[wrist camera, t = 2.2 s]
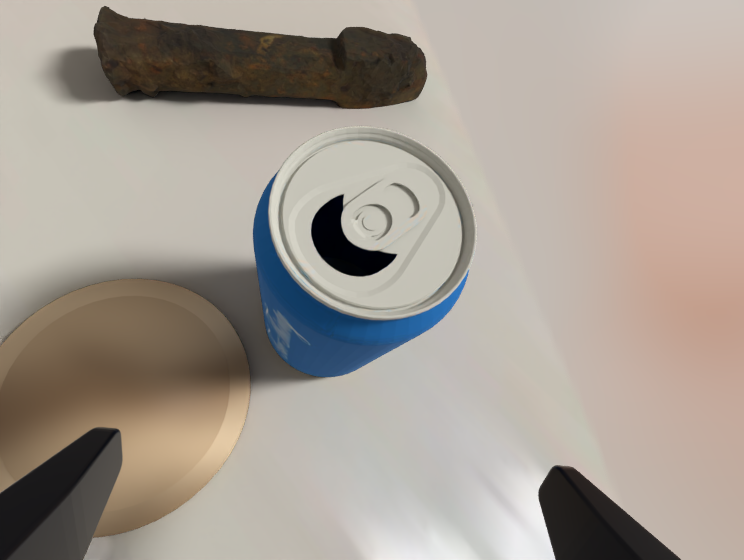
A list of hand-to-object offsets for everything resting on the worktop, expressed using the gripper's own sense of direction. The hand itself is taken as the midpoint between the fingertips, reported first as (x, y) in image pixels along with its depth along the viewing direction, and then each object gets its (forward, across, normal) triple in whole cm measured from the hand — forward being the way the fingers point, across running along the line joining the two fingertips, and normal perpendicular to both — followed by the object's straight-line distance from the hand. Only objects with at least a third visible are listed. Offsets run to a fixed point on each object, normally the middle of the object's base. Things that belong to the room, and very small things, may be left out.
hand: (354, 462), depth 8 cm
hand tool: (+24, +5, -6) cm, 25 cm away
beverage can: (+13, 0, +5) cm, 14 cm away
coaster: (+9, +9, +8) cm, 15 cm away
